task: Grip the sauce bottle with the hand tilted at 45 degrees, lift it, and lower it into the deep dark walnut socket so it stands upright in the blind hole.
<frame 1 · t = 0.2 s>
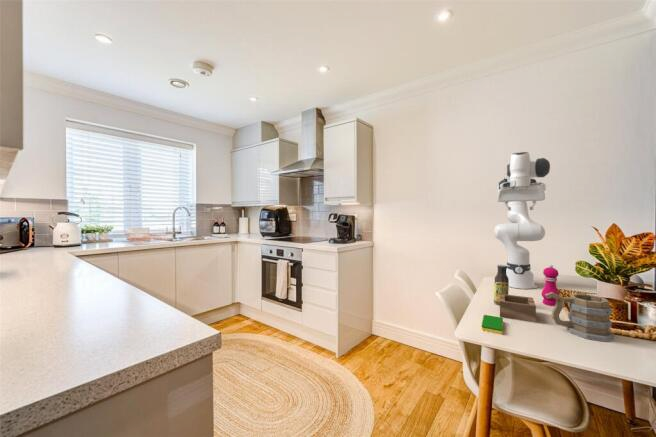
hand: (520, 210, 141), 47 cm above the table, tool pointing down, fingers open, 8 cm apart
tankard: (576, 332, 107), on the table
socket: (516, 314, 125), on the table
pepper mill: (550, 304, 137), on the table
dish sponge: (492, 327, 114), on the table
sauce bottle: (501, 304, 139), on the table
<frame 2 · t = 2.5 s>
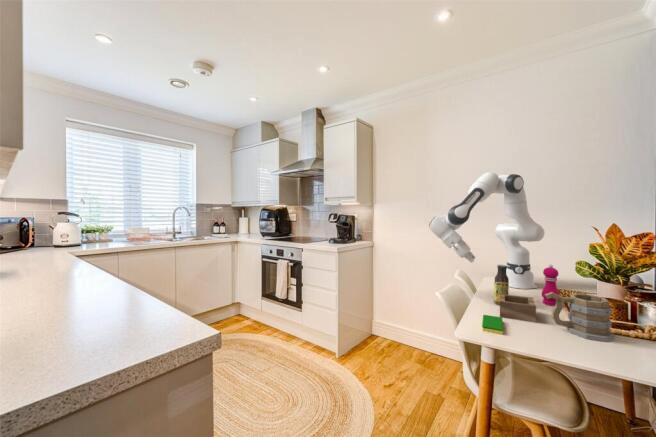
hand: (473, 260, 145), 22 cm above the table, tool tilted 45°, fingers open, 8 cm apart
nothing on the table moved.
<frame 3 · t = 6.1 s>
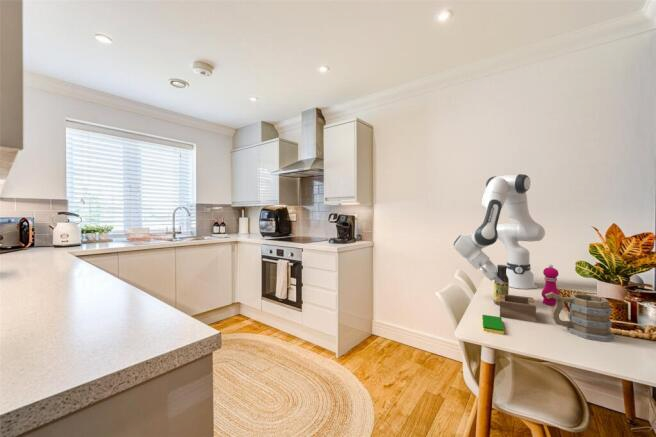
hand: (502, 281, 138), 11 cm above the table, tool tilted 45°, fingers closed on sauce bottle, 6 cm apart
sauce bottle: (501, 304, 139), on the table, touching gripper
everything else where it was.
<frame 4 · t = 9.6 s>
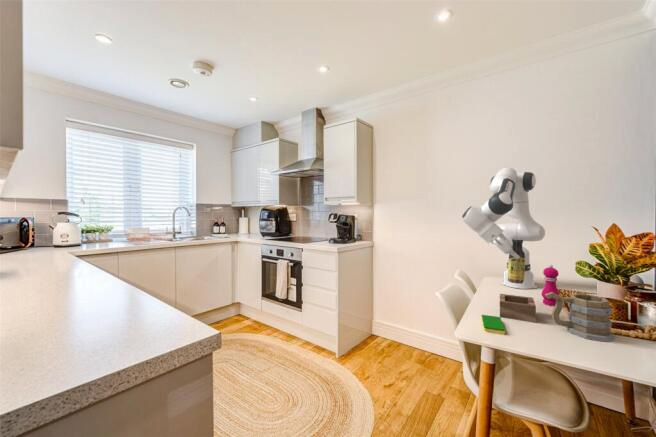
hand: (518, 256, 124), 27 cm above the table, tool tilted 45°, fingers closed on sauce bottle, 6 cm apart
sauce bottle: (516, 282, 124), point 15 cm above the table, touching gripper
everything else where it was.
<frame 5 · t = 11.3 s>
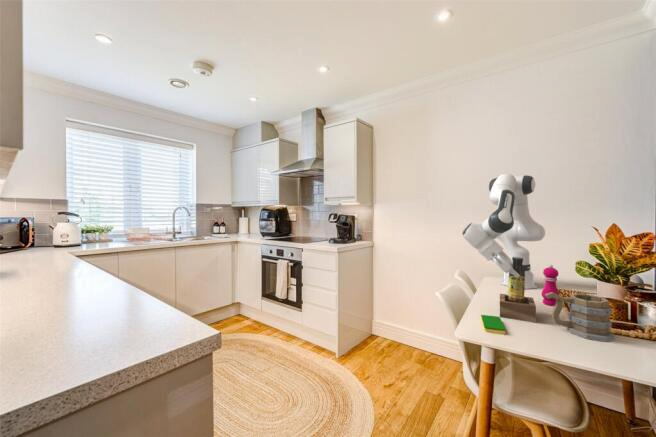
hand: (518, 274, 124), 19 cm above the table, tool tilted 45°, fingers closed on sauce bottle, 6 cm apart
sauce bottle: (516, 300, 124), point 6 cm above the table, touching gripper
everything else where it was.
when the fingers open (14 cm above the table, at t = 13.0 s): sauce bottle stays where it is, resting on socket.
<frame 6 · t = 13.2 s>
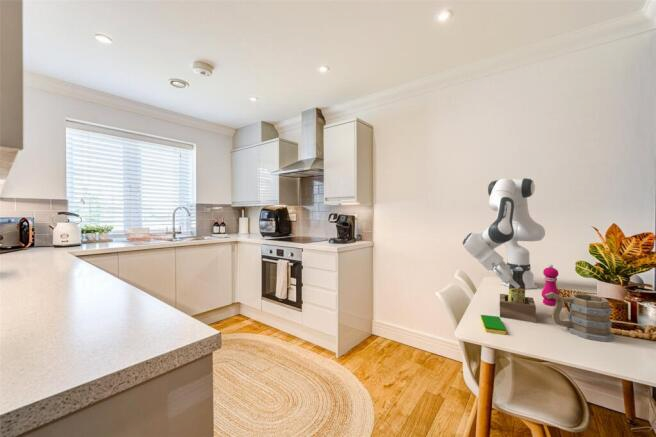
hand: (518, 285, 124), 14 cm above the table, tool tilted 45°, fingers open, 7 cm apart
sauce bottle: (516, 312, 125), point 1 cm above the table, touching socket
everything else where it was.
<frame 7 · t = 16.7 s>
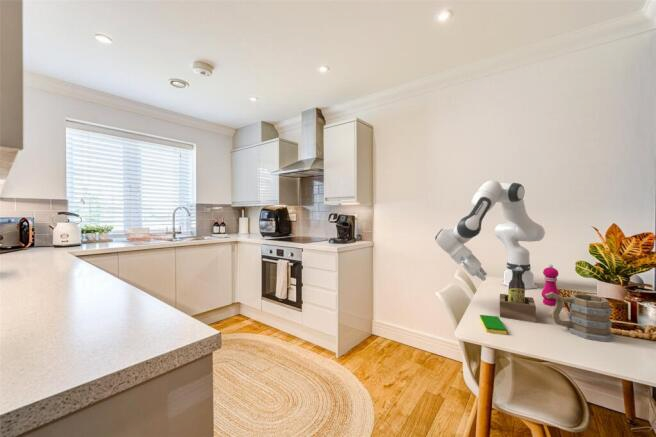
hand: (485, 277, 131), 16 cm above the table, tool tilted 45°, fingers open, 8 cm apart
nothing on the table moved.
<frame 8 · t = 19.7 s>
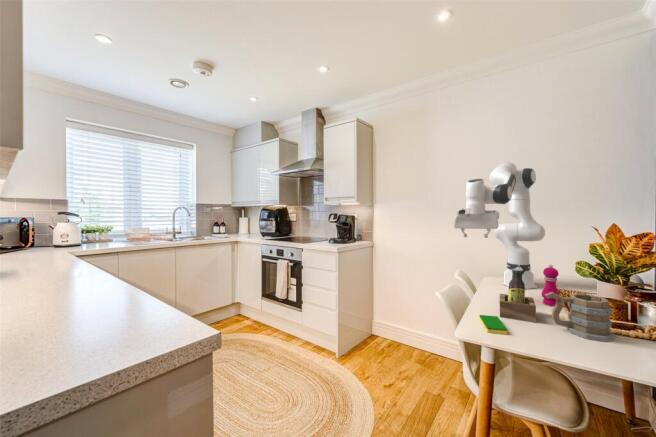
hand: (475, 237, 140), 34 cm above the table, tool pointing down, fingers open, 8 cm apart
at the end: sauce bottle 0.1 cm off-centre on the socket, point 0.8 cm above the socket's base; sauce bottle tilted 0°; the gripper is holding nothing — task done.
